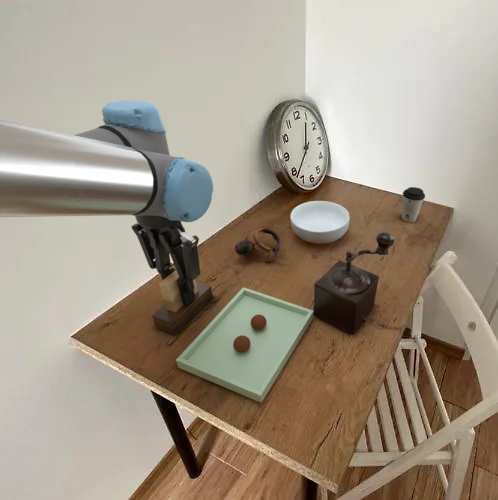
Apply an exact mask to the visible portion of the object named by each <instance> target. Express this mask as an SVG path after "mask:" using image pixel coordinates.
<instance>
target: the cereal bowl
mask: <svg viewBox="0 0 498 500" xmlns="http://www.w3.org/2000/svg"><path fill="white" fill-rule="evenodd" d="M290 226H291V229H292V230H293V231H292V232H294V234H295V235H296V236H297V237H298V238H300V239H301V240H303V241H305V242H307V243H312V244H322V245H323V244H329V243H332V242H335V241H337V240H339V239H341V238H342V237H343V236H344V235H345V234H346V232H347V231H348V229H349V226H350V213H349V211H348V210H347V209H346V208H345V207H344V206H343V205H340V204H338V203H335V202H331V201H326V200H313V201H307V202H303V203H301V204H299V205H297V206H295V207H294V208H293V209H292V211H291V212H290Z"/></svg>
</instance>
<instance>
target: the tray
mask: <svg viewBox="0 0 498 500" xmlns="http://www.w3.org/2000/svg"><path fill="white" fill-rule="evenodd" d="M313 313H314V309H309V308H307V307H305V306H301V305H298V304H295V303H292V302H289V301H286V300H283V299H280V298H277V297H275V296H272V295H271V296H270V295H268V294H265V293H263V292H259V291H256V290H253V289H250V288H247V287H244V286H243V287H242V288H241V289H240V290H239V291H238V292H237V293H236V295H234V296H233V297H232V299H231V300H230V301H229V302H228V303H227V304H226V305H225V306H224V307H223V308H222V310H220V312H219V313H218V314H217V315H216V316H215V317H214V318H213V319H212V320H211V321H210V322H209V324H207V325H206V327H205V328H204V329H203V330H202V331H201V332H200V333H199V334H198V335H197V336H196V338H195V339H194V340H193V341H192V342H191V343H190V344H189V345H188V346H187V348H185V349H184V350H183V352H182V353H180V355H178V357H177V358H176V359H175V361H176V365H177V368H178V369H181V370H183V371H185V372H188V373H190V374H193V375H194V376H197V377H199V378H201V379H204V380H206V381H208V382H212V383H214V384H216V385H217V386H220V387H223V388H226V389H228V390H230V391H232V392H234V393H237V394H239V395H242V396H244V397H247V398H249V399H251V400H253V401H256V402H258V403H260V404H262V403H263V401H264V400H265V398H266V396H267V395H268V393H269V392H270V389H271V388H272V386H273V385H274V383H275V382H276V380H277V379H278V377H279V375H280V373H281V372H282V370H283V368H284V367H285V365H286V364H287V362H288V360H289V359H290V357H291V355H292V354H293V352H294V350H295V349H296V347H297V345H298V344H299V342H300V341H301V339H302V338H303V336H304V334H305V333H306V331H307V329H308V328H309V326H310V324H311V323H312V321H313V319H314V315H313ZM255 315H263V316H264V317H265V318H266V321H267V323H266V326H265V328H264V329H262V330H254V329H253V328H252V327H251V319H252V318H253V317H254V316H255ZM241 335H244V336H247V337H248V338H249V340H250V348H249V349H248V350H247V351H246V352H243V353H239V352H237V351H236V350H235V349H234V347H233V342H234V340H235V339H236V338H237V337H238V336H241Z"/></svg>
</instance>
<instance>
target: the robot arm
mask: <svg viewBox="0 0 498 500" xmlns="http://www.w3.org/2000/svg"><path fill="white" fill-rule="evenodd" d="M101 113H102V117H103V119H102V121H103V123H104V124H102V125H100V126H98V127H96V128H94V129H90V130H86V131H84V132H79V133H75V134H70V133H65V132H59V131H56V130H50V129H47V128H42V127H37V126H32V125H27V124H22V123H17V122H13V121H9V120H4V119H0V218H29V217H30V218H32V217H35V218H39V217H102V216H103V217H107V216H109V217H110V216H111V217H112V216H113V217H114V216H132V217H133V216H134V217H135V220H136V223H134V224H133V225H131V229H132V232H133V233H134V234H135V235H136V237H137V240H138V242H139V245H140V247H141V249H142V252H143V255H144V258H145V259H146V262H147V265H148V266H149V268H150V269H151V270H156V272H157V273H158V274H160V277H161V281H163V280H164V279H165V278H166V277H168V276H169V275H170V274H171V273H173V272H174V271H175V270H177V273H178V275H179V278H180V279H179V280H177V282H178V286H179V290H180V293H181V297H182V301H183V304H184V305H186V306H187V305H188V304H189V303H190V302H191V301H192V300H193V299H194V298H195V294H194V290H193V289H194V288H195V286H194V282H193V280H194V279H195V280H196V279H197V278H198V277H199V276H200V275H201V268H200V266H201V265H200V258H199V251H198V244H199V241H200V238H199V236H198V235H192V236H191V235H189V234H188V233H186V228H185V227H184V226H183V224H182V222H183V223H194V222H195V221H198V220H199V219H200V218H202V217H203V216H204V215H205V214H206V212H207V211H208V209H209V208H210V206H211V203H212V200H213V199H212V198H213V192H214V183H213V179H212V175H211V173H210V171H209V170H208V169H207V168H206V167H205V165H203V164H201V163H199V162H197V161H193V160H189V159H187V158H185V157H181V156H173V155H171V154H170V149H169V145H168V139H167V135H166V133H167V131H166V129H165V126H164V123H163V119H162V117H161V113H160V111H159V108H158V107H157V106H156V105H155V104H153V102H150V101H145V100H138V99H137V100H136V99H127V100H126V99H125V100H117V101H113V102H109V103H107V104H106V105H104V106H103V107H102V110H101ZM171 260H172V262H171ZM173 266H174V267H173Z"/></svg>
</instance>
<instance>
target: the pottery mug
mask: <svg viewBox="0 0 498 500" xmlns="http://www.w3.org/2000/svg"><path fill="white" fill-rule="evenodd" d="M259 233H264V234H268V235H271V236H272V237H273V240H274V241H276V245H275V246H273V247H272V250H271V247H270V246H267V245H266V244H264V243H262V242H261V240H260V238H259V236H258V235H259ZM281 244H282V243H281V238H280V236H279V234H278V233H277V232H276V231H275V230H273V229H272V228H269V227H260V228H258V229H257V230H253V231H251V232H249V234H248V235H247V236H246V237H245V239H244V240H241V241H239V242H238V243H236V244H235V245H234V252H235V253H236V254H237V255H238V256H243V257H244V258H246V259H248V258H249V255H250V253H251V252H252V250H253V248H254V249H256V250H257V251H259V252H261V253H263V254H264V255H267V258H266V260H265V261H266V262H267V263H271V262H272V261H273V260H274V258H276V257H277V256H278V254H279V252H280V249H281Z"/></svg>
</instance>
